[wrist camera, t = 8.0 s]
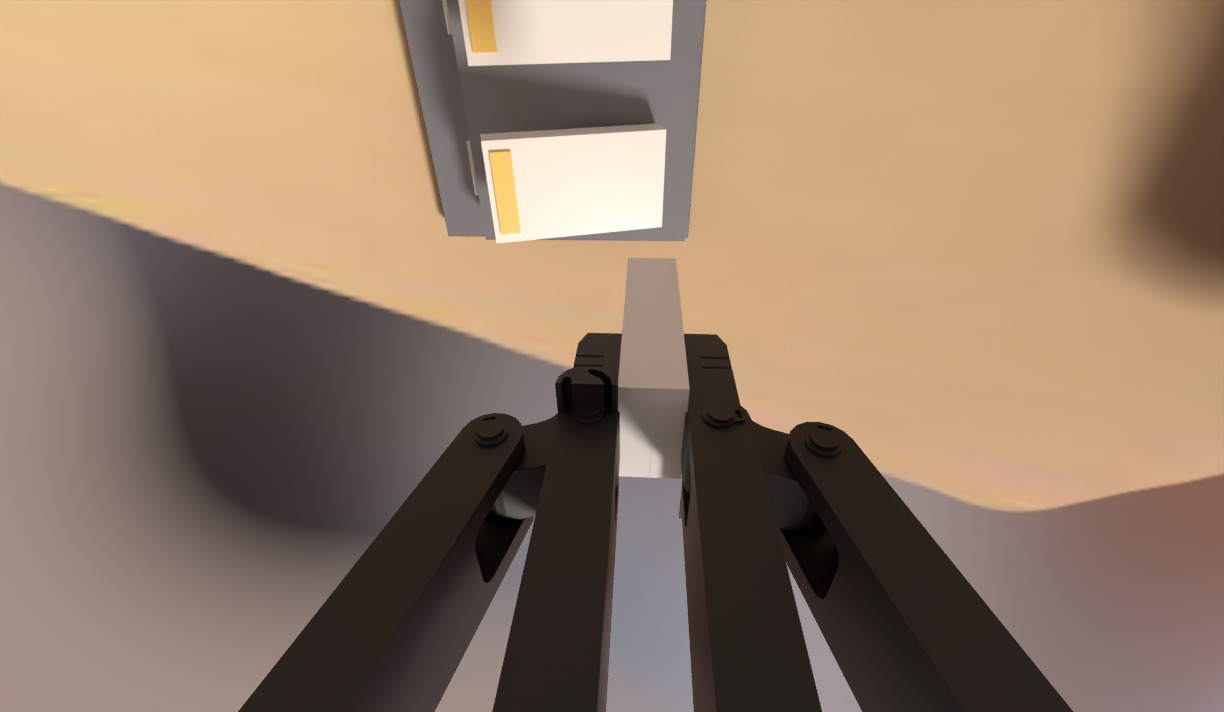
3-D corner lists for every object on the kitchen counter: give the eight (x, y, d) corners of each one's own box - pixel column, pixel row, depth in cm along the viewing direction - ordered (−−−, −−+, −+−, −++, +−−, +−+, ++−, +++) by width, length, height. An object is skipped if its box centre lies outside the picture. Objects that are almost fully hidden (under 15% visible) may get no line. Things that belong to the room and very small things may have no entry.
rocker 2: (656, 123, 26) (667, 129, 25) (653, 217, 29) (662, 228, 28) (480, 134, 25) (480, 141, 23) (495, 232, 27) (496, 244, 26)
